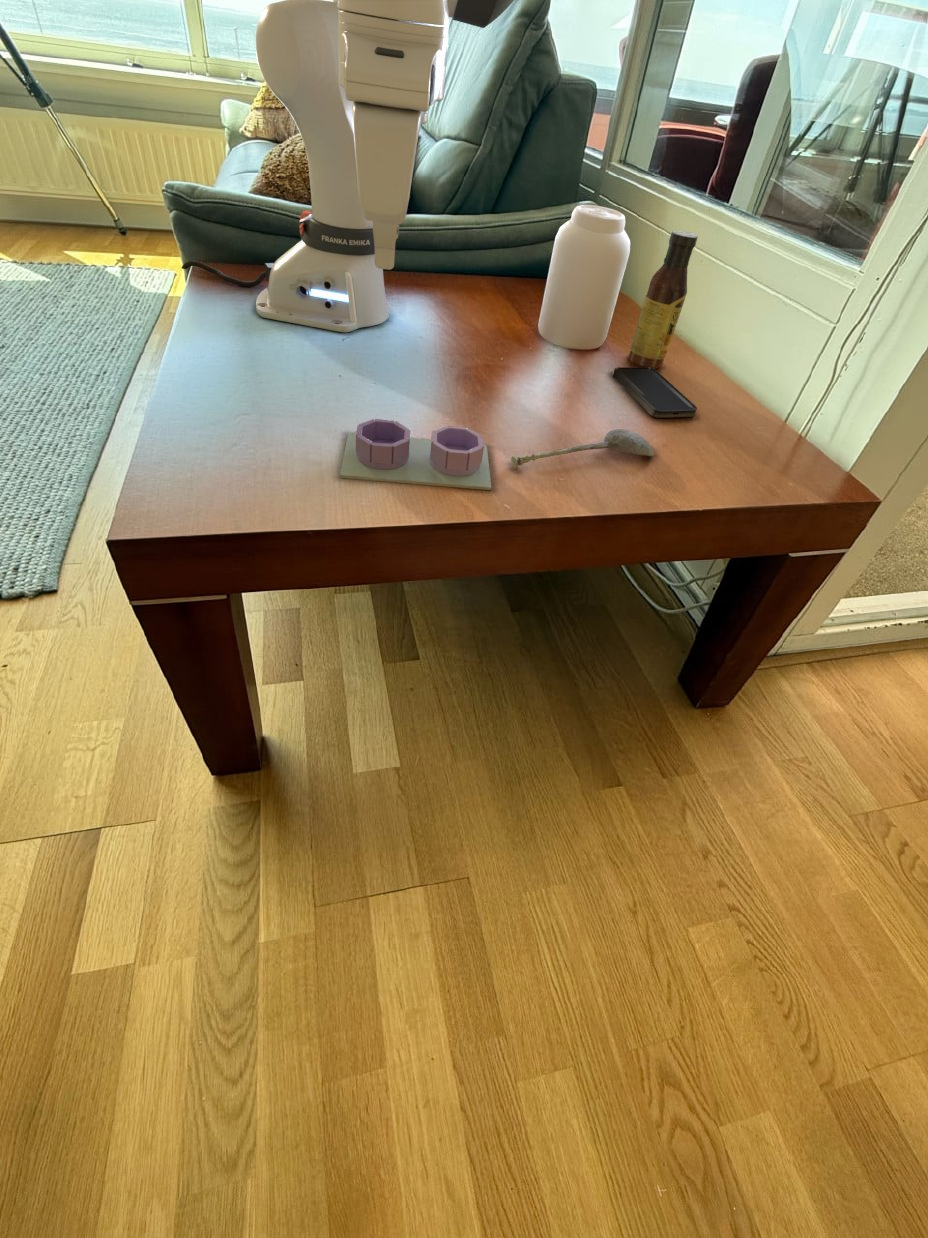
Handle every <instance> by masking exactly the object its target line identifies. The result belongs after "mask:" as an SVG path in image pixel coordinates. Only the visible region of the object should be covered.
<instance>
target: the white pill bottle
mask: <svg viewBox="0 0 928 1238" xmlns="http://www.w3.org/2000/svg"><path fill="white" fill-rule="evenodd" d="M625 227H626V216H625V214H623V213H622V212H620V211H618V210H616V209H614V208H610V207H606V206H601V205H595V204H580V205H576V207H574V209H573V210H572V213H571V218H570V219H569V220H567V221H566V222H564V223H563V224H561V226H560V227H559V228H558V231H557V233H556V235H555V238H554V243H553V248H552V251H551V253H552V254H551V258H550V263H549V268H548V273H547V279H546V283H545V288H544V293H543V299H542V303H541V309H540V313H539V319H538V323H537V328H538V333H539V335H540V337H542V338H543V339H545V340H547V341H548V342H549V343H552V344H554V345H557V346H559V347H563V348H567V349H573V350H594V349H598V348H600V347H602V346H603V344H604V343H605V342H606V340H607V337H608V333H609V331H610V326H611V322H612V320H613V315H614V311H615V307H616V305H617V301H618V298H619V293H620V289H621V287H622V282H623V278H624V275H625V271H626V268H627V264H628V260H629V258H630V257H629V256H630V253H631V239H630V237H629V235H628V233H627V231H626V230H625Z"/></svg>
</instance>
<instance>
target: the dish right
mask: <svg viewBox="0 0 928 1238" xmlns="http://www.w3.org/2000/svg"><path fill="white" fill-rule="evenodd" d="M430 440H431V443H430V458H429V460H430V464H431V465H432V466H433V467H434V468H435V469H436V470H438V471H439V472H442V473H444V474H447V475H452V476H466V475H470V474H473V473H475V472H476V471H477V470H478V469H479V468H480V465H481V463H482V457H483V451H484V445H485V442H484V441H485V440H484V437H483V435H481V434H480V433H478V432H477V431H475V430H473V429H471V428H470V427H466V426H458V425H457V426H455V425H444V426H442V427H439V428H437V429H434V430H432V431H431V435H430Z"/></svg>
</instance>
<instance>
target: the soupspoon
mask: <svg viewBox="0 0 928 1238" xmlns="http://www.w3.org/2000/svg"><path fill="white" fill-rule="evenodd" d="M602 449H609V450H612V451H618V452H621V453H627V454H632V455H637V456H646V457H654V456H655V451H654V450H653V447H652V446H651V444H650V443H649V442H648V441H647V439H645V438H644V437H643V436H642V435H641V434H639V433H636V432H635V431H632V430H630V429H625V428H618V429H617V428H616V429H612V430H609V431H607V432H606V433H605V435H604V437H603V442H596V443H595V442H594V443H587V444H581V445H576V446H571V447H566V448H562V449H561V448H560V449H557V450H551V451H546V452H542V453H537V454H535V453H531V454H530V455H524V456H517V458H516V457H515V456H514V455H512V456H511V457H510V462H511V465H512V468H513V469H514V470H518V466H523V464H526V463H529V462H531V461H533V462H535V461H536V460H539V459H545V458H549V457H555V456H561V455H566V454H572V453H577V452H583V451H591V450H602Z"/></svg>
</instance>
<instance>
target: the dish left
mask: <svg viewBox="0 0 928 1238" xmlns="http://www.w3.org/2000/svg"><path fill="white" fill-rule="evenodd" d="M355 433H356V455H357V458H358V460H359V461H360V462H361V463H362V464H364V465H366V466H368V467H371V468H374V469H380V470H391V469H396V468H399V467H401V466H403V465H405V464H406V463H407V461H408V459H409V445H410V438H411V430H410V428H409V427H407V426H405V425H404V424H402V423H400V422H399V421H397V420H393V419H381V418H375V419H374V418H373V419H369V420H366V421H364V422H361V423H358V425H356V432H355Z"/></svg>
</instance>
